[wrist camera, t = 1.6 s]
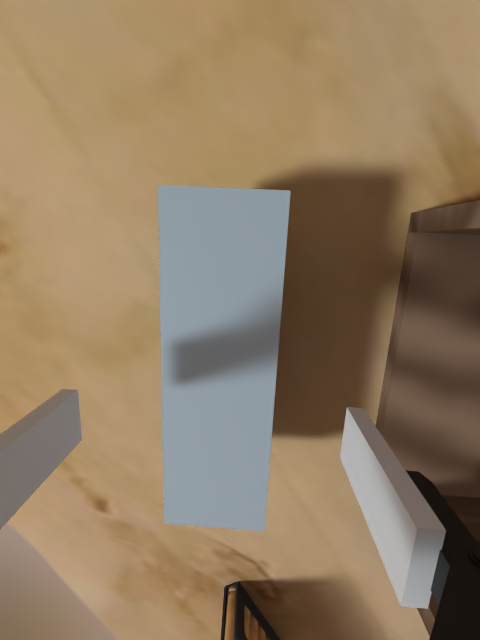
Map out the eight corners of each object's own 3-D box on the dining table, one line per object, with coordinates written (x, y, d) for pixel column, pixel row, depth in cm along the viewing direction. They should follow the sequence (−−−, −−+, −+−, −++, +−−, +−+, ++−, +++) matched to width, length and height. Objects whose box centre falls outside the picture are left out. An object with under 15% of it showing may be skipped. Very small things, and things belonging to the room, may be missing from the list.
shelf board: (176, 196, 20) (157, 185, 16) (283, 200, 20) (290, 190, 16) (177, 481, 26) (164, 523, 22) (262, 487, 25) (264, 531, 22)
